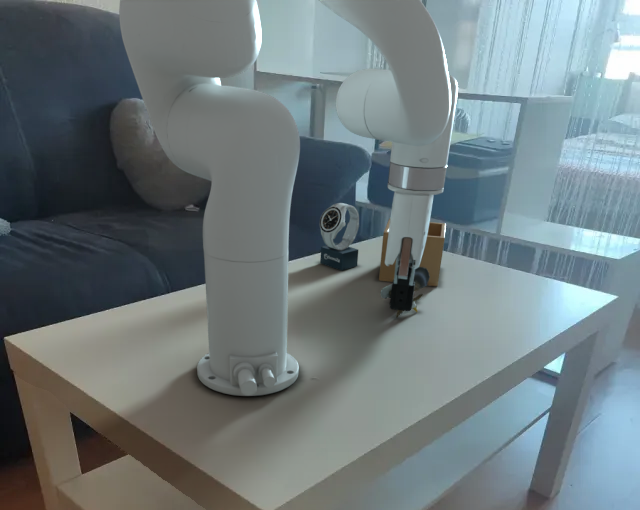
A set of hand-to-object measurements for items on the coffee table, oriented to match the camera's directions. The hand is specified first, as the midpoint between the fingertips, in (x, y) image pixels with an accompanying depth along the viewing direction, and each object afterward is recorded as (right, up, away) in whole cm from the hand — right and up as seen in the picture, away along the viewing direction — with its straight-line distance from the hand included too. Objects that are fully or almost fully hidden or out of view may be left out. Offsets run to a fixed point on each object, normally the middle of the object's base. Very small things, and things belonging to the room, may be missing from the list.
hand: (400, 308), depth 94 cm
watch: (-9, +13, +25) cm, 29 cm away
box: (+5, +10, +22) cm, 25 cm away
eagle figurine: (+1, +1, +7) cm, 7 cm away
